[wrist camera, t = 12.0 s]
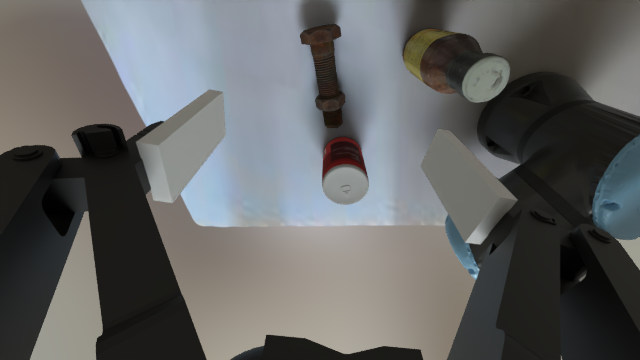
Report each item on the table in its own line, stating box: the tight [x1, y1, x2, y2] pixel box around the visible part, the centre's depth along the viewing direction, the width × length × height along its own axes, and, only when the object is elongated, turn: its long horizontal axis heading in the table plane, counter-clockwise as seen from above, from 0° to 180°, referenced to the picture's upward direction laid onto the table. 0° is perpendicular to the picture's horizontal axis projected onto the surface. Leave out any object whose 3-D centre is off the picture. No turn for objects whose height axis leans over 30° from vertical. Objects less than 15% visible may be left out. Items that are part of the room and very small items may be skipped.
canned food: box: [322, 137, 369, 205], centre depth 44 cm, size 8×8×11 cm
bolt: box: [300, 24, 346, 128], centre depth 39 cm, size 6×5×15 cm
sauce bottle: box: [403, 29, 510, 103], centre depth 30 cm, size 6×6×20 cm
